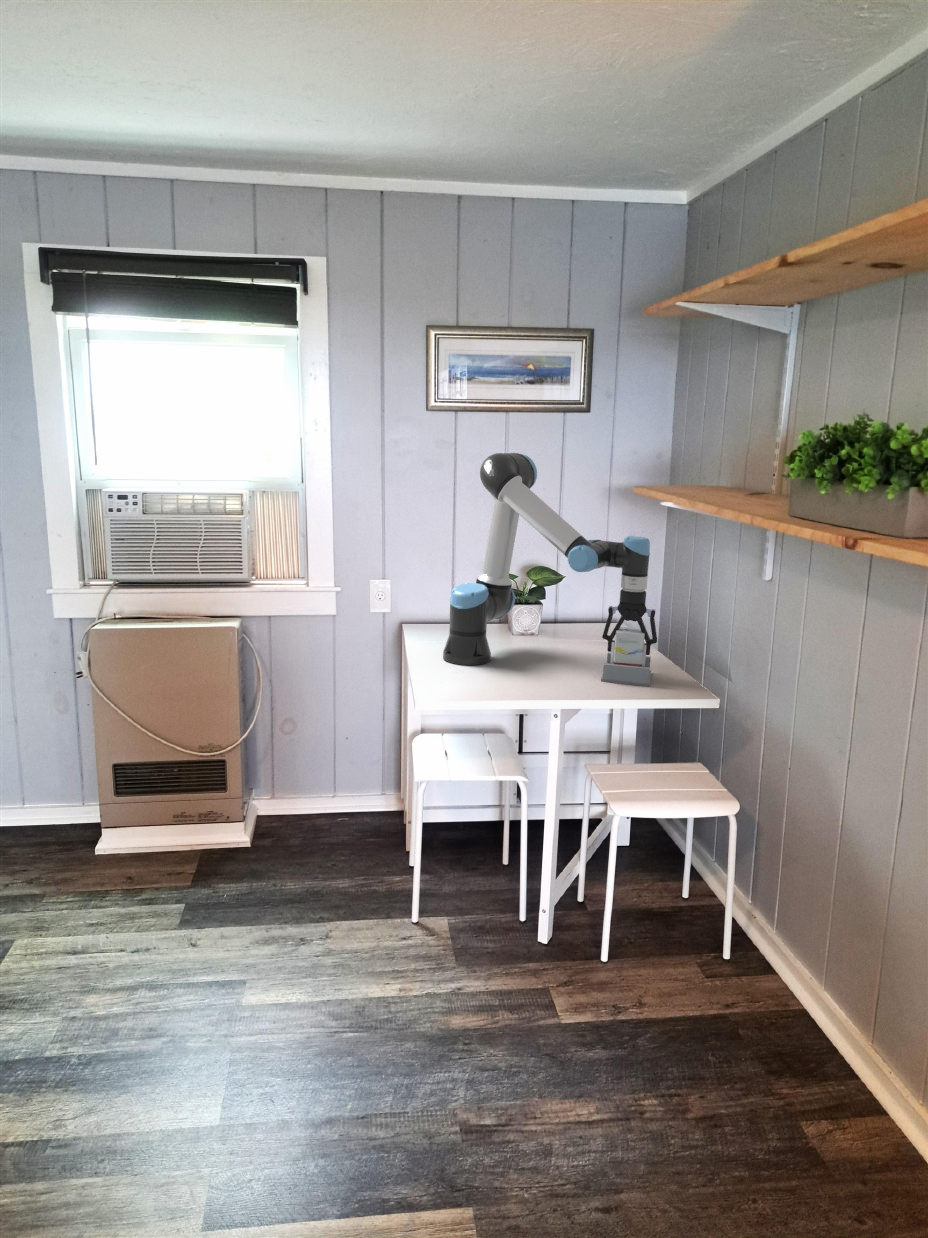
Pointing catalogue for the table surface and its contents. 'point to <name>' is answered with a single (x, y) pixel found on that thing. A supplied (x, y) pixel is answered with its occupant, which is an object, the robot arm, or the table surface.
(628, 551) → the robot arm
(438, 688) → the table surface
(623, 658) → the ink box
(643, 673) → the channel holder
